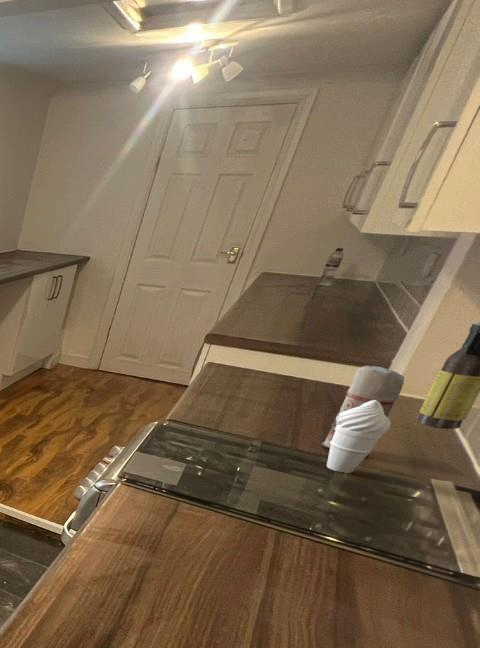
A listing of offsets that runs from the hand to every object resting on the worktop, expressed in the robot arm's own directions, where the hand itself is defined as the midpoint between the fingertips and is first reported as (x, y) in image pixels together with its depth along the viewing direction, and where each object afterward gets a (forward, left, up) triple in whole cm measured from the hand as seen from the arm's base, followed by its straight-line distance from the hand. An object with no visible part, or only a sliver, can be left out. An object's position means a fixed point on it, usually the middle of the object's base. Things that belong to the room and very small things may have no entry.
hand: (477, 352), depth 109 cm
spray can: (+10, -16, -28) cm, 34 cm away
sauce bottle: (0, 0, -15) cm, 15 cm away
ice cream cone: (+10, 0, -28) cm, 30 cm away
